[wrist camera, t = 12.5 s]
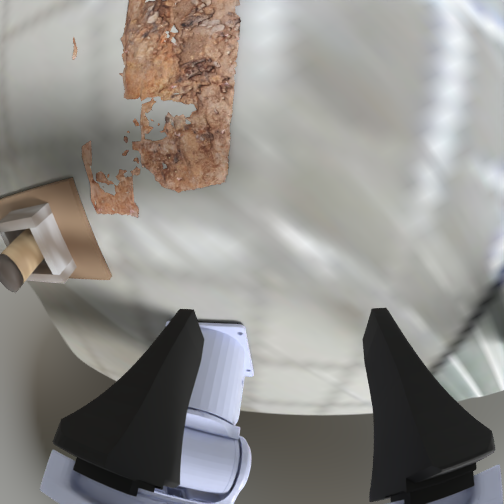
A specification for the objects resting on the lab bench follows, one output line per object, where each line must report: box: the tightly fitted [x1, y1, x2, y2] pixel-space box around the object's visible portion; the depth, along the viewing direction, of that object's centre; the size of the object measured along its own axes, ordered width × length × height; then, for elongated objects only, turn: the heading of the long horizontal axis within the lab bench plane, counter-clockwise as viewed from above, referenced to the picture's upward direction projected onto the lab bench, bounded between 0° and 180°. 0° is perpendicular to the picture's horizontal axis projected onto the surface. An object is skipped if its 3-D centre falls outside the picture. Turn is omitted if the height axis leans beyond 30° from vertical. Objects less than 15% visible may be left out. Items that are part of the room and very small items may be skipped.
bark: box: [72, 0, 241, 218], centre depth 13 cm, size 22×12×1 cm, turn 0°
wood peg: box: [0, 228, 44, 292], centre depth 19 cm, size 4×4×6 cm
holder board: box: [0, 177, 112, 283], centre depth 21 cm, size 10×14×3 cm
